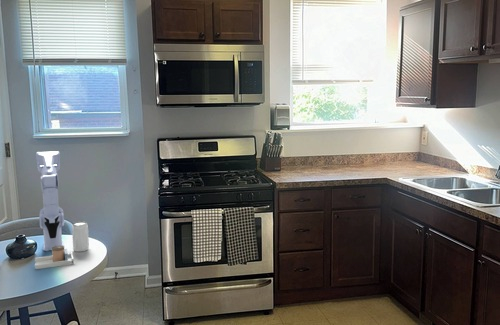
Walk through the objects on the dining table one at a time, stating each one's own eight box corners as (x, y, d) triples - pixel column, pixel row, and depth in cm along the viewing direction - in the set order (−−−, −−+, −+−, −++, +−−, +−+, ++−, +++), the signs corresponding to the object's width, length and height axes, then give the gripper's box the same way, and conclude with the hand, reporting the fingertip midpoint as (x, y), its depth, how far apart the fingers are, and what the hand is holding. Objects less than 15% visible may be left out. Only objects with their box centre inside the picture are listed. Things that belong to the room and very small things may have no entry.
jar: (53, 260, 178) (52, 246, 177) (65, 258, 180) (64, 244, 179) (52, 264, 174) (51, 249, 173) (64, 262, 176) (63, 248, 175)
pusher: (64, 257, 181) (64, 249, 180) (67, 257, 181) (66, 248, 180) (65, 262, 175) (64, 253, 175) (67, 262, 176) (67, 253, 175)
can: (70, 250, 190) (68, 224, 189) (81, 246, 196) (80, 220, 194) (80, 253, 187) (79, 226, 186) (92, 248, 193) (91, 222, 191)
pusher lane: (35, 261, 177) (35, 256, 177) (72, 256, 183) (72, 251, 183) (35, 269, 169) (34, 264, 169) (73, 263, 175) (73, 258, 175)
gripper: (40, 200, 184) (42, 231, 186) (40, 208, 171) (42, 241, 173) (58, 199, 187) (60, 229, 189) (59, 206, 174) (61, 239, 176)
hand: (52, 235), depth 181 cm, fingers open, 7 cm apart
